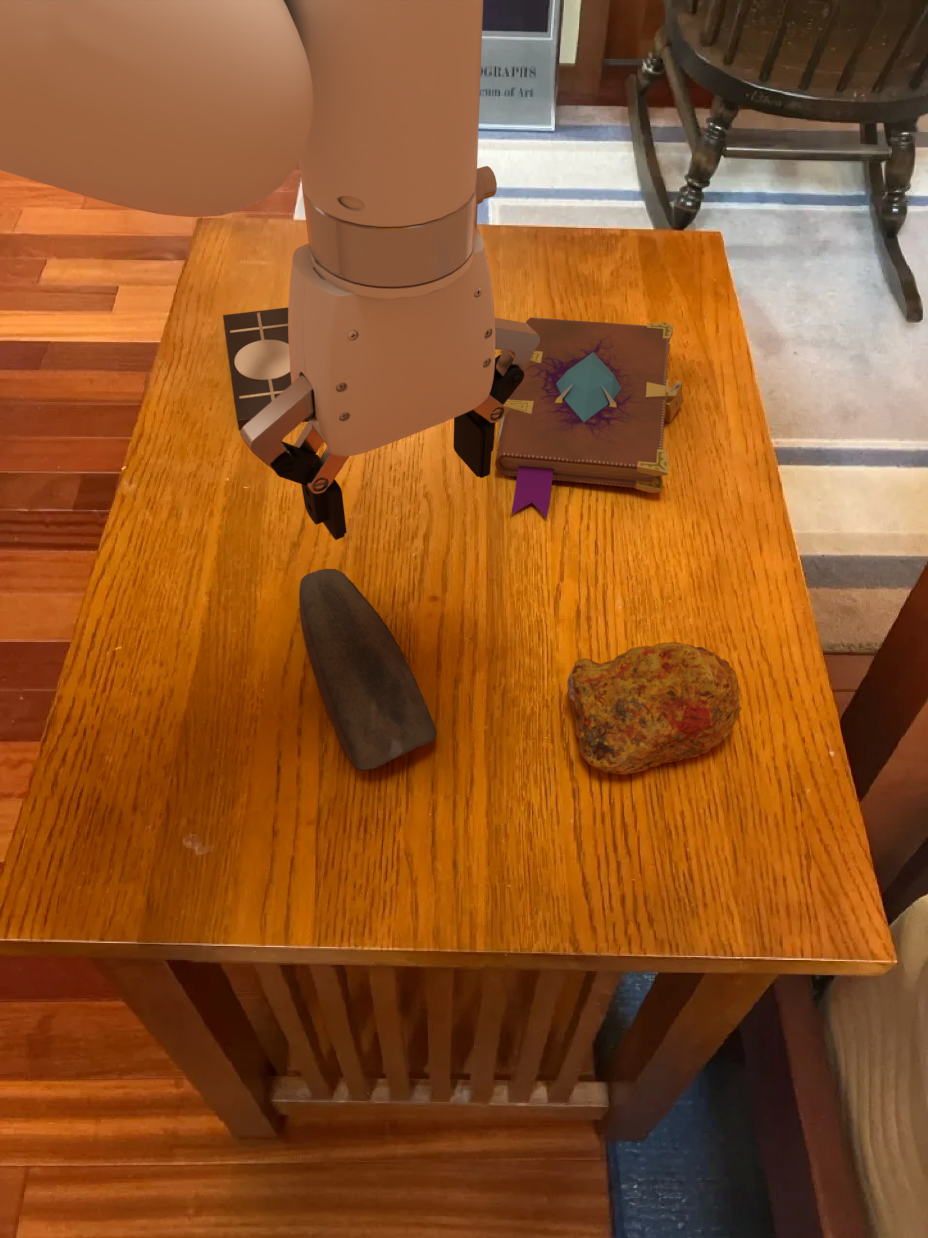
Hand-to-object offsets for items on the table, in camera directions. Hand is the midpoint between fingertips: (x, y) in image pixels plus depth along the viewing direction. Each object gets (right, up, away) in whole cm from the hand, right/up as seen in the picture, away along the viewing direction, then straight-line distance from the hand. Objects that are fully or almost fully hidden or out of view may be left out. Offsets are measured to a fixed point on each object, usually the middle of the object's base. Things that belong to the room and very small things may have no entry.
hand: (402, 491), depth 55 cm
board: (-12, +17, +35) cm, 41 cm away
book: (+15, +10, +31) cm, 36 cm away
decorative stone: (-4, -12, +14) cm, 19 cm away
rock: (+17, -15, +13) cm, 26 cm away
